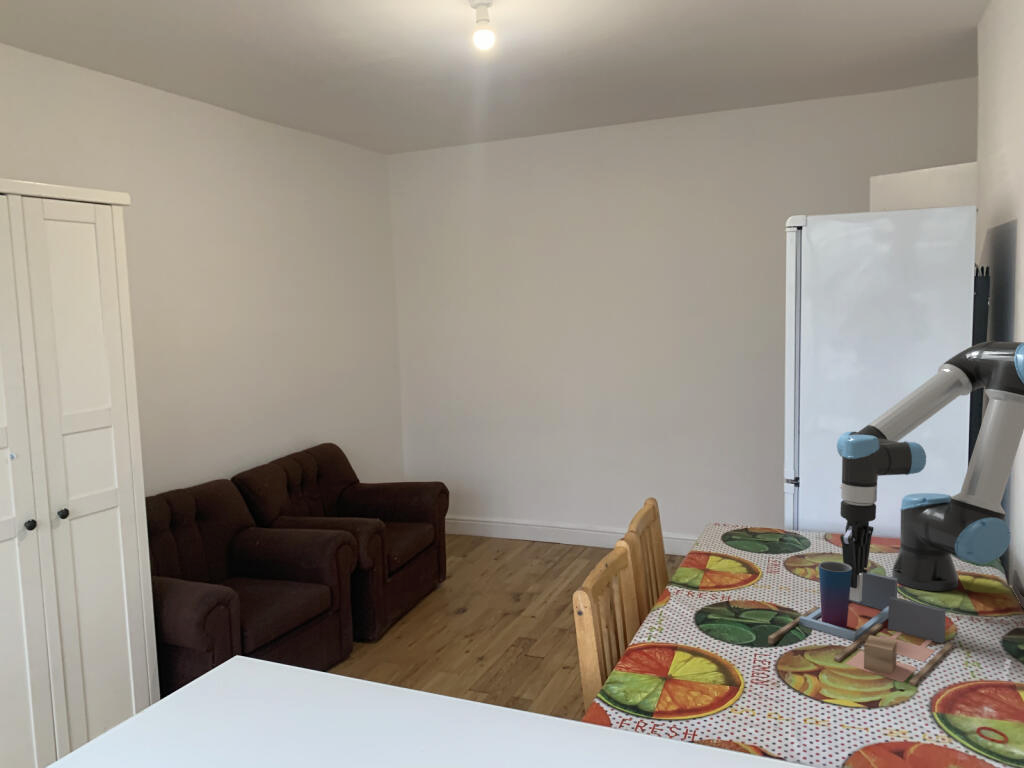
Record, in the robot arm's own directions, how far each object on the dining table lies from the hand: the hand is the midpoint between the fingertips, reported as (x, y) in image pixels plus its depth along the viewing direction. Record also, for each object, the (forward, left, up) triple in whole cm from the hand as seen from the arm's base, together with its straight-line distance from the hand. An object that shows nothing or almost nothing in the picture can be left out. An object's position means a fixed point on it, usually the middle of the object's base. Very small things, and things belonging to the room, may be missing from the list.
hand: (854, 599), depth 180 cm
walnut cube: (+25, +15, -3) cm, 29 cm away
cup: (+12, +1, -4) cm, 13 cm away
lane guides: (+17, +8, -4) cm, 19 cm away
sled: (+4, +1, -3) cm, 6 cm away
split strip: (+16, +15, -4) cm, 22 cm away
